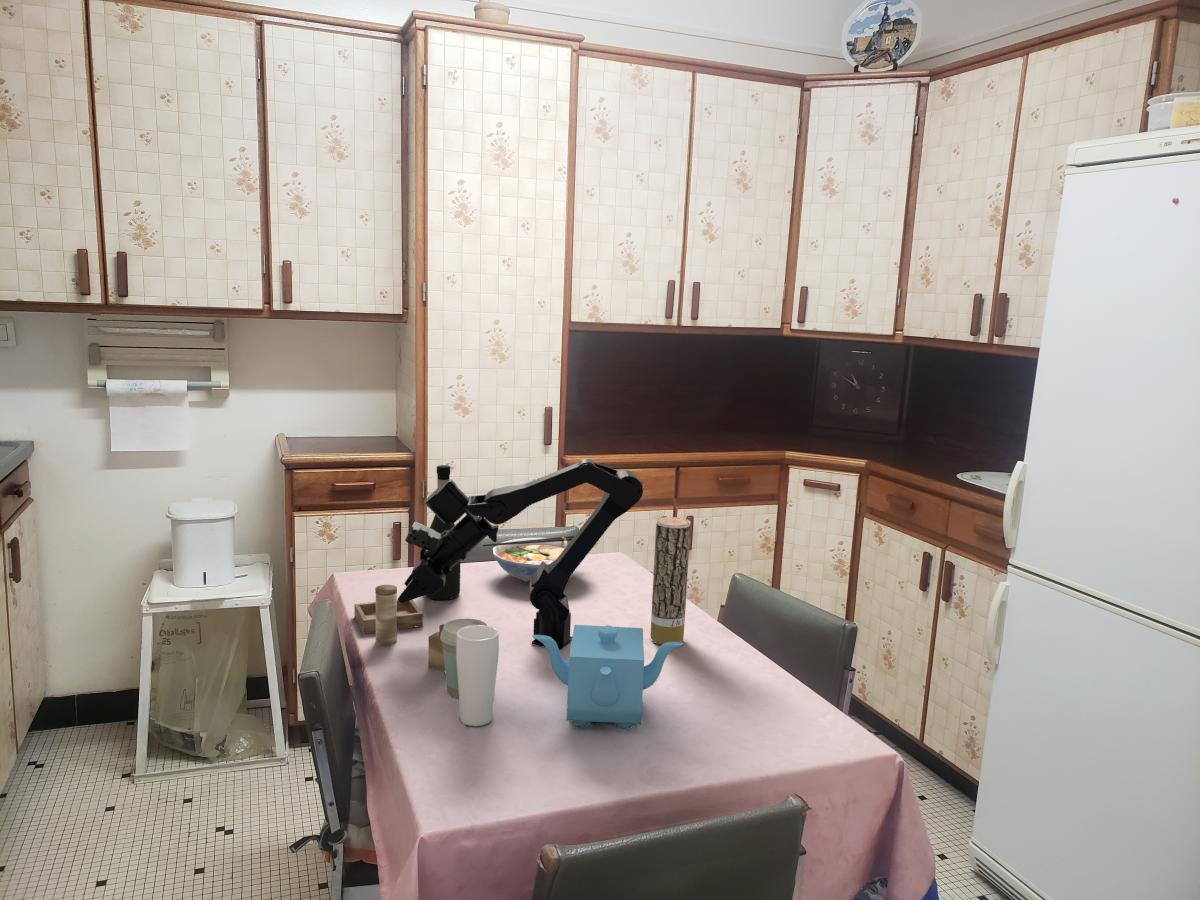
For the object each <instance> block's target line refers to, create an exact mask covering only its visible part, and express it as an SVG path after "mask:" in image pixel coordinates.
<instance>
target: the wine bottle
mask: <svg viewBox="0 0 1200 900" xmlns="http://www.w3.org/2000/svg"><path fill="white" fill-rule="evenodd" d="M450 474H451V466H450V465H447V464H445V465H444V464H441V465H440V464H439V465H437V466H436V476H437V479H436V480H437V483H436V484H437V488H438V487H439V488H440V487H441V486H442V485H444V484H445V483H447V482H448V481H449V480H450V479H451V478H450V476H451V475H450ZM437 488H436V489H437ZM455 525H456V523H453V524H452V523H450V524H449V523H448V522H447V523H443V522H442V521H441V520H440V519H439V518H438V517H437V516H436V515H435V514H434V516H433V520H432V522H431V525H430V526H429V528H431V529H433V530H435V531H436V532H438V533H440V534H441V533H443V532H444V531H445V530H446V531H447V530H450V529H452V528H453V527H454V526H455ZM442 572H443V573H444V574H445V585H444V588H443V589H442V590H440V591H439V592H438V593H437V594H435V593H434V594H429V595H426V596H425V597H428V598H429V599H432V600H434V601H435V600H436V601H446V600H452V599H455V598H456V597H458V596H459V594H460V593H461V560H460V561H459V562H458V563H457V564H456V565H455V566H454V567H452V570H451V572H450V573H449V574H448V575H447V574H446V573H445V572H444V571H443V570H442Z"/></svg>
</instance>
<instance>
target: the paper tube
mask: <svg viewBox="0 0 1200 900" xmlns="http://www.w3.org/2000/svg"><path fill="white" fill-rule="evenodd" d="M654 537H655V538H654V542H655V543H654V558H653V561H654V562H653V575H652V576H653V577H652V578H653V579H652V595H651V599H652V600H651V611H650V612H651V615H650V617H651V618H650V637H649V638H650V639H651V641H652V642H654V643H655V644H657V645H660V646H661V645H663V644H664V643H667V642H682V643H683V641H684V637H685V636H684V635H685V623H686V622H685V621H686V620H685V619H686V607H687V606H686V605H687V589H688V588H687V587H688V575H689V574H688V572H689V571H688V570H689V556H690V555H689V554H690V539H691V520H689V519H686V518H684V517H678V516H677V517H674V516H665V517H664V516H663V517H659V518H657V519H656V522H655V536H654Z"/></svg>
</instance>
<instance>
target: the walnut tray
mask: <svg viewBox="0 0 1200 900" xmlns="http://www.w3.org/2000/svg"><path fill="white" fill-rule="evenodd" d="M353 607H354V619H355V621H356V622H357V624H358V625H359V628H360V629H361V632H362V633H363V634H365V635H366V634H374V633H376V601H372V602H371V601H370V602H363V603H361V602H360V603H354V604H353ZM415 626H422V627H424V613H423V611H422V610H421V609H420V607H419V606H418V604H417V603H416V602H415V600H414V599H413V600H409V601H406V602H403V603H400V602H399V601H398V598H397V629H398V630H404V629H403V628H406V629H411V628H410V627H414V628H416V627H415Z"/></svg>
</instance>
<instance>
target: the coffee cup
mask: <svg viewBox="0 0 1200 900" xmlns="http://www.w3.org/2000/svg"><path fill="white" fill-rule="evenodd" d="M444 624H445V625H444V627H443V630H442V632H441V636H440V639H441V641H442V646H443V655H444V665H445V671H444V673H445V682H446V683H445V684H446V691H447V695H448V696H450V697H451V698H454V699H458V700H459V691H458V678H457V666H456V638H457V632H458V630H460V629H461V628H463V627H467V626H472V625H485V626H488V625H487V623H486V622H485V621H483V620H481V619H478V618H477V619H476V618H457V619H454V620H453V619H452V620H450V621H447V622H446V623H444Z"/></svg>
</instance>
